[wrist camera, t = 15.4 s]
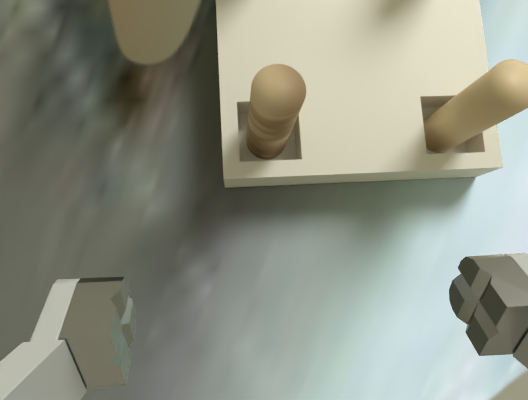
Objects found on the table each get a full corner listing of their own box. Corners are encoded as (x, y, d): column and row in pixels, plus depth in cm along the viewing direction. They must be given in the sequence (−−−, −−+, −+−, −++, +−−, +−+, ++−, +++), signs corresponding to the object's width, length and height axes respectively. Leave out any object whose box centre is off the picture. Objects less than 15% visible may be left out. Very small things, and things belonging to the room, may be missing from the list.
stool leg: (247, 160, 37) (252, 117, 27) (245, 121, 38) (249, 64, 27) (287, 158, 38) (308, 115, 27) (284, 120, 38) (304, 63, 27)
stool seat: (224, 187, 38) (219, 153, 26) (214, -50, 42) (205, -176, 30) (476, 176, 40) (580, 139, 28) (446, -50, 43) (527, -170, 31)
